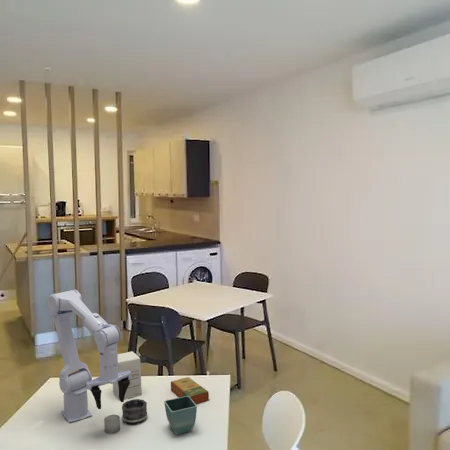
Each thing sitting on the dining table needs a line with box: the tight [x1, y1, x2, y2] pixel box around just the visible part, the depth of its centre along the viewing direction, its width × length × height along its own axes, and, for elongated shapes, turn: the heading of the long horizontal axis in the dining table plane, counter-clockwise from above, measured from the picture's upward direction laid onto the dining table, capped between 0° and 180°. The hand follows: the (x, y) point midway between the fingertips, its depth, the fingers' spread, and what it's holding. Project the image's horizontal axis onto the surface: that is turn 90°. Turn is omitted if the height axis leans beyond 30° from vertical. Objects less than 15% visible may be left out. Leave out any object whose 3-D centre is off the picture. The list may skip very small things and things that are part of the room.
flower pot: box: [163, 396, 198, 435], centre depth 148 cm, size 9×9×9 cm
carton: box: [170, 376, 210, 406], centre depth 173 cm, size 8×16×4 cm, turn 33°
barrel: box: [121, 398, 148, 426], centre depth 156 cm, size 8×8×5 cm
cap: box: [103, 414, 121, 435], centre depth 149 cm, size 5×5×4 cm
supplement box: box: [112, 351, 142, 400], centre depth 175 cm, size 9×9×15 cm
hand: (110, 404), depth 147 cm, fingers open, 7 cm apart
